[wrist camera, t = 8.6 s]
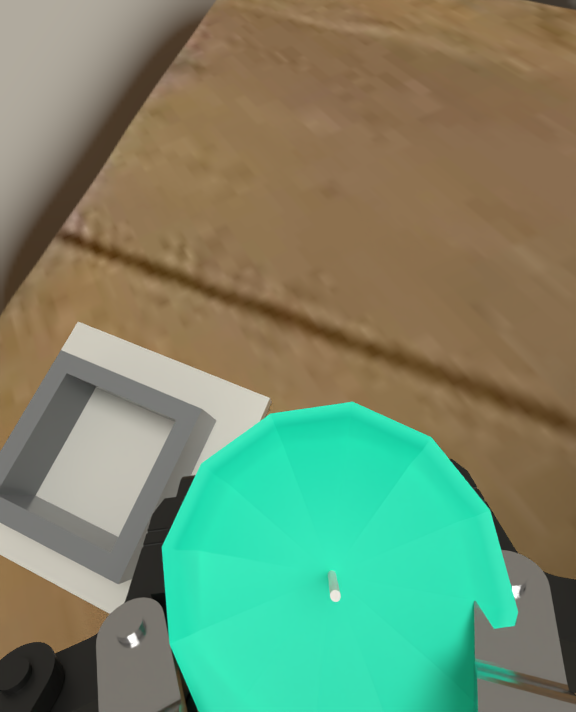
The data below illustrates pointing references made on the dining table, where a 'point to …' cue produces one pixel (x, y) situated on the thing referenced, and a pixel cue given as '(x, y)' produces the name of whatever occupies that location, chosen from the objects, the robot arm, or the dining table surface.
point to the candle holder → (108, 458)
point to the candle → (331, 570)
